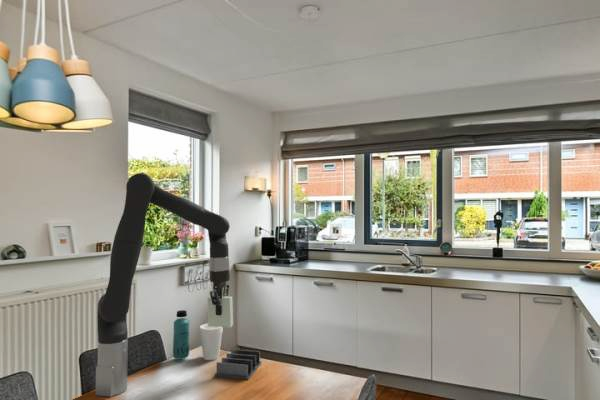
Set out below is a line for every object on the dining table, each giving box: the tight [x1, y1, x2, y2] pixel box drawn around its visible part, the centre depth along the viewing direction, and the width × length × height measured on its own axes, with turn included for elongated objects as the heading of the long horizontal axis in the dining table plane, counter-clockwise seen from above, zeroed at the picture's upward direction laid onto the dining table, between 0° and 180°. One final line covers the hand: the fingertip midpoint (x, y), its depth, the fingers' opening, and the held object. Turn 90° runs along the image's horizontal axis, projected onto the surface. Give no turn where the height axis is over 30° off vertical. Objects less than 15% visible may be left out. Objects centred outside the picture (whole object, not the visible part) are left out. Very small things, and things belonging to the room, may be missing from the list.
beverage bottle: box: [172, 309, 190, 360], centre depth 169 cm, size 6×7×20 cm
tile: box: [207, 295, 234, 328], centre depth 157 cm, size 3×9×11 cm, turn 78°
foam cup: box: [199, 322, 224, 361], centre depth 172 cm, size 10×9×13 cm
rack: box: [214, 348, 262, 381], centre depth 158 cm, size 16×13×5 cm
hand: (220, 313), depth 157 cm, fingers closed on tile, 2 cm apart
